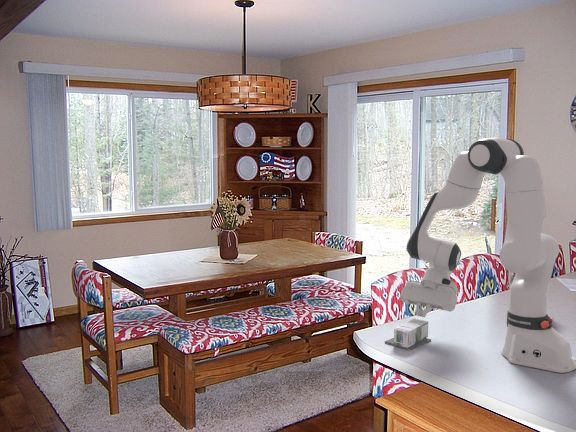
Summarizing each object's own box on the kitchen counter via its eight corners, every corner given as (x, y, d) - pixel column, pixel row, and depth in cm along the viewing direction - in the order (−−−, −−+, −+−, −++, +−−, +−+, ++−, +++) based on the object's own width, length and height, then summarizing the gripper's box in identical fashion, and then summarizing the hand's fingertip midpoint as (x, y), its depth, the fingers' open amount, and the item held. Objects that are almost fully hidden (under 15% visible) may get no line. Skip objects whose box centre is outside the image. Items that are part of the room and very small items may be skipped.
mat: (431, 340, 199) (431, 339, 199) (409, 350, 190) (409, 348, 190) (406, 334, 206) (406, 332, 206) (384, 343, 197) (384, 341, 197)
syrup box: (414, 318, 204) (392, 328, 193) (429, 321, 200) (408, 331, 190) (413, 333, 205) (392, 344, 194) (428, 337, 201) (408, 348, 190)
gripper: (405, 274, 212) (391, 305, 206) (457, 282, 199) (444, 316, 193) (411, 283, 216) (397, 315, 210) (463, 292, 203) (449, 326, 197)
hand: (420, 315), depth 201 cm, fingers closed
